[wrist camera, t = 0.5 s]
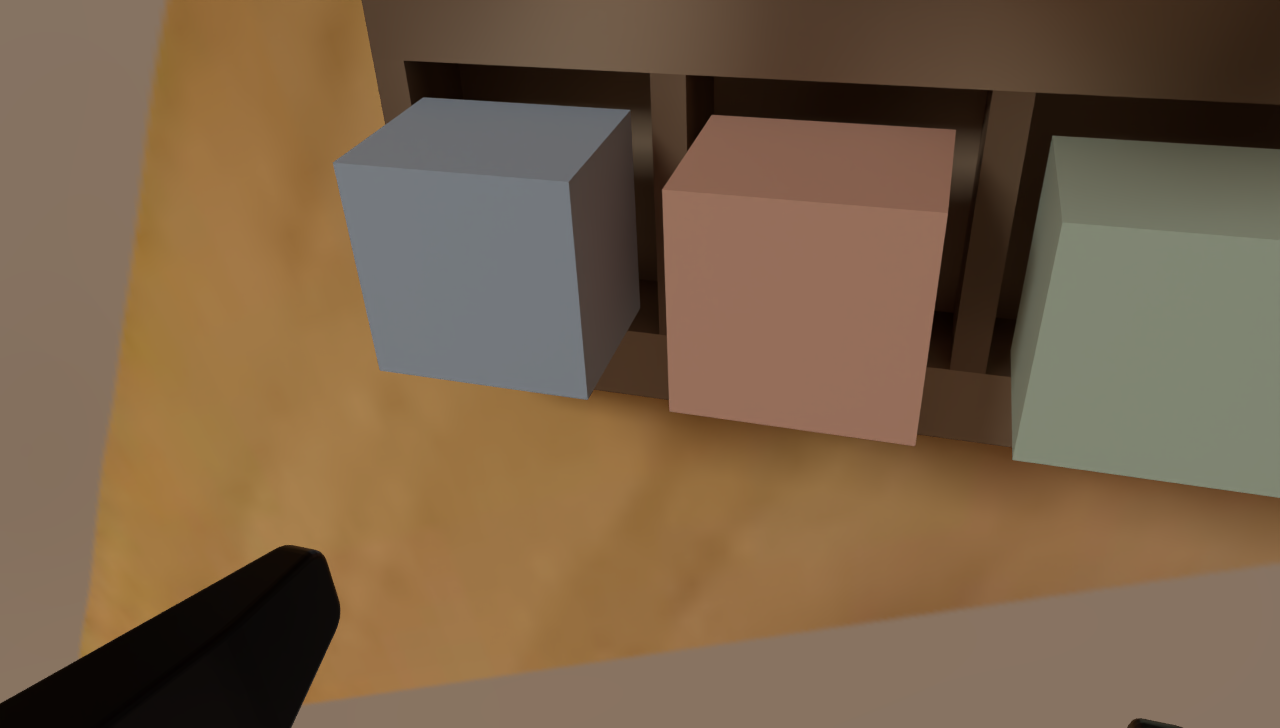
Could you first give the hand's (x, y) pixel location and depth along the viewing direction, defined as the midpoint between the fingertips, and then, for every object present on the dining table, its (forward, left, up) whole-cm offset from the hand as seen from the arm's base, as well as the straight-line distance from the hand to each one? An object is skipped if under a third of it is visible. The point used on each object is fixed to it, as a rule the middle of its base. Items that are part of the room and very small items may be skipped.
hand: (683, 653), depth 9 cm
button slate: (+5, 0, -9) cm, 11 cm away
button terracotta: (0, 0, -9) cm, 9 cm away
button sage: (-5, 0, -9) cm, 11 cm away
